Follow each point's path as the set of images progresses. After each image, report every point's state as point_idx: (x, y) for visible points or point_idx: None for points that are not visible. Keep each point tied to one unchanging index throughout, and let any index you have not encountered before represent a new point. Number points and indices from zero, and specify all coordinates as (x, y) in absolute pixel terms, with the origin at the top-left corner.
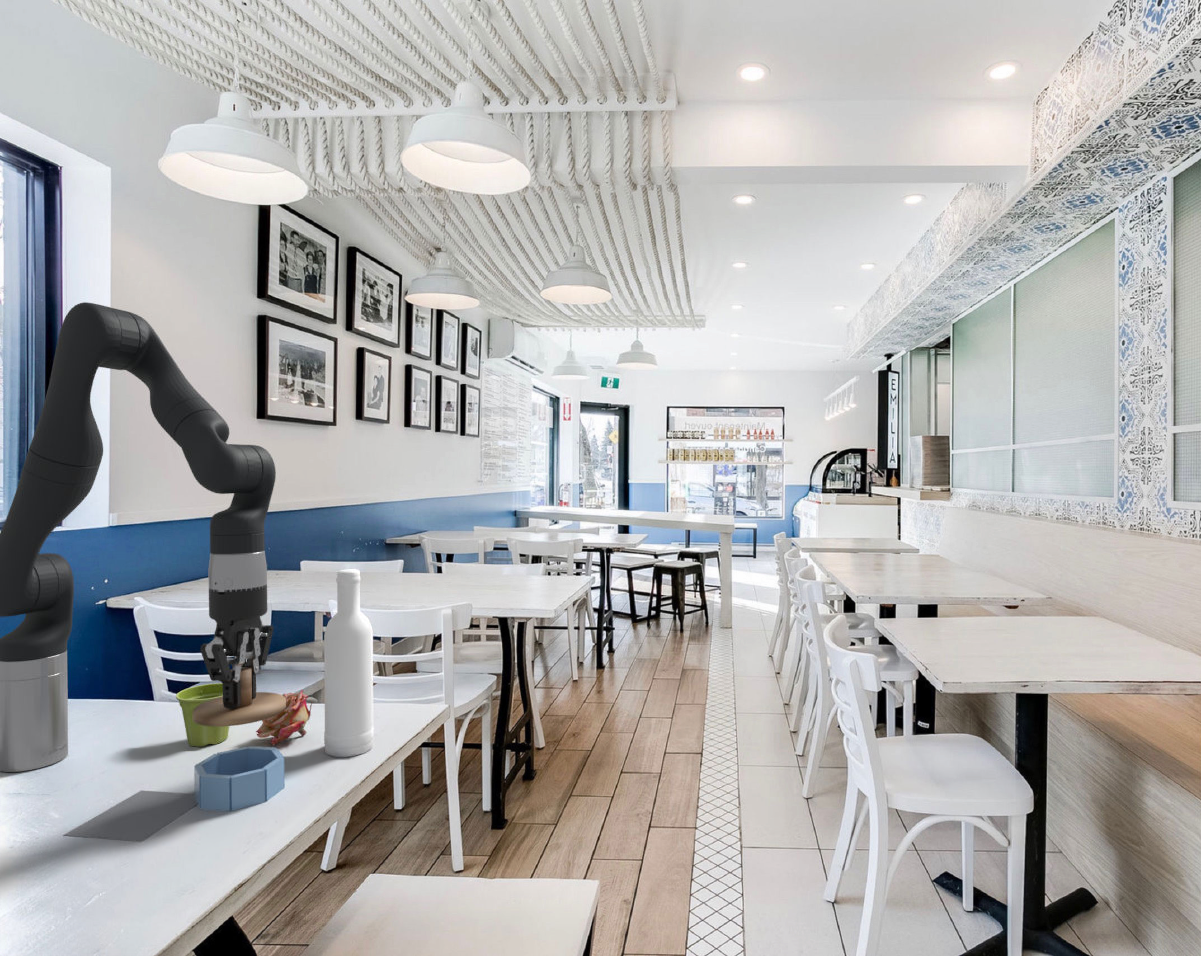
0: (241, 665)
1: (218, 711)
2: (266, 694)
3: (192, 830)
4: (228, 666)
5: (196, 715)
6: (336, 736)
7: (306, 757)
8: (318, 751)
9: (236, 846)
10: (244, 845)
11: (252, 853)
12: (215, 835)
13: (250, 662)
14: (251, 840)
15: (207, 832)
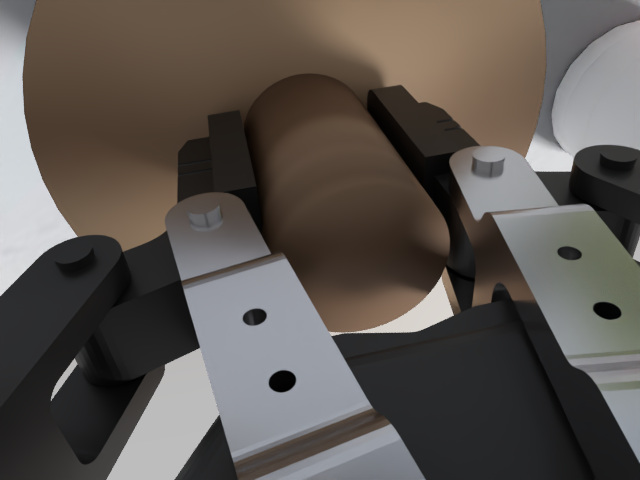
0: (461, 215)
1: (163, 105)
2: (502, 133)
3: (5, 38)
4: (112, 454)
5: (37, 23)
6: (589, 126)
7: (556, 4)
8: (604, 10)
9: (14, 217)
10: (28, 230)
11: (12, 269)
12: (23, 127)
13: (462, 309)
14: (55, 227)
15: (22, 92)
